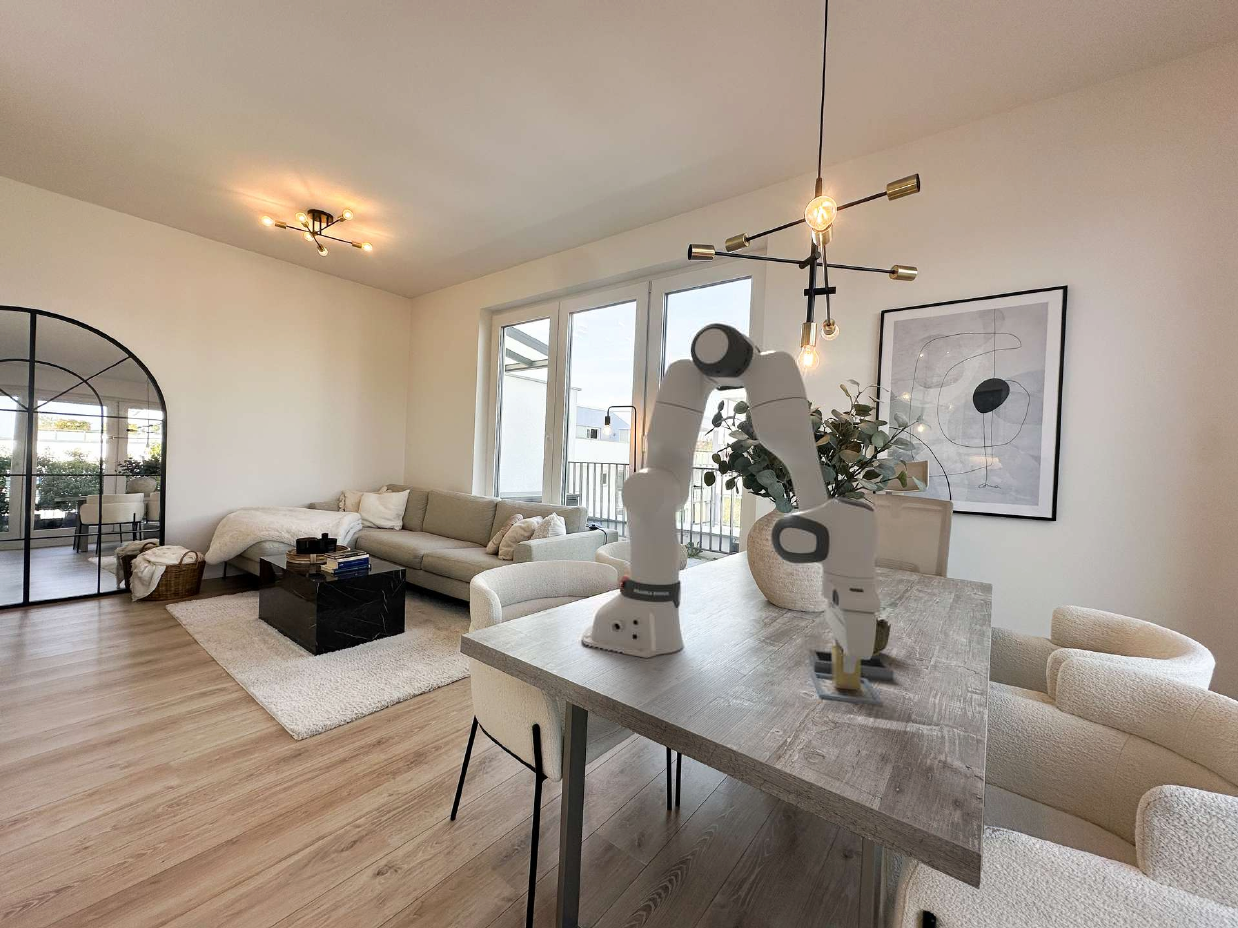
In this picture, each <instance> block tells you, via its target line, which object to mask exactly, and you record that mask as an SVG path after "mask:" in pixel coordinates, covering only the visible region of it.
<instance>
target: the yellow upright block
mask: <svg viewBox="0 0 1238 928" xmlns="http://www.w3.org/2000/svg"><path fill="white" fill-rule="evenodd" d="M831 652H832V672H831V679H830V680H832V682H833V684H834V686H835V688H836V689H837V688H838V689H849V690H859V691H860V690H861V684H862V682H861V659H857V661H856V664H855V673H854V674H849V673H845V672H844V671H843V669H842V660H843V659H844V652H843V648H842V647H841V646H835V645H831Z"/></svg>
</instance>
